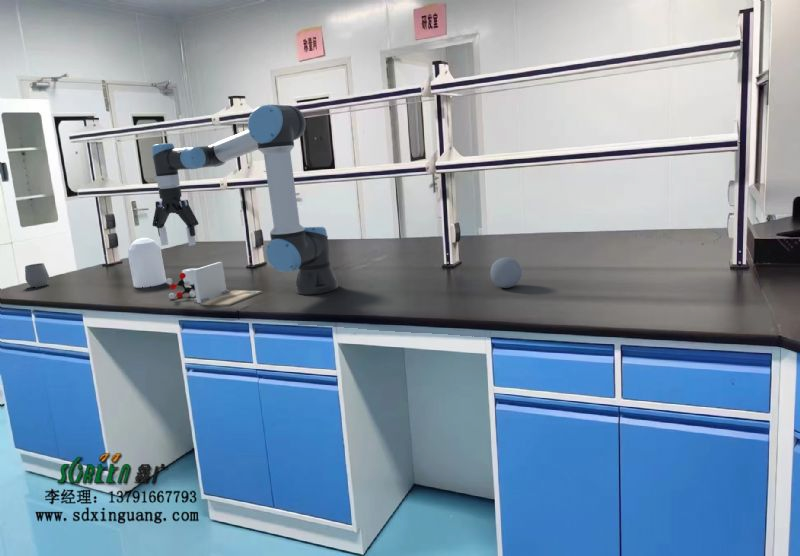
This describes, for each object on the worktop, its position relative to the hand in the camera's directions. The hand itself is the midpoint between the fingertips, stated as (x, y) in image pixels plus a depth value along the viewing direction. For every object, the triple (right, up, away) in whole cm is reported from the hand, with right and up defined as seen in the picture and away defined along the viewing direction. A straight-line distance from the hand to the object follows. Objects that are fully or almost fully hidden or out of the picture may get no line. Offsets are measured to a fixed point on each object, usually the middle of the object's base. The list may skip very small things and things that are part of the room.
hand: (178, 245), depth 227 cm
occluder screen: (+13, -19, -1) cm, 23 cm away
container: (-25, -15, +37) cm, 47 cm away
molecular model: (+1, -20, +5) cm, 20 cm away
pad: (+21, -20, -5) cm, 29 cm away
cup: (-84, -16, +56) cm, 102 cm away
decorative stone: (+117, -15, -25) cm, 120 cm away
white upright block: (0, -17, +17) cm, 24 cm away
